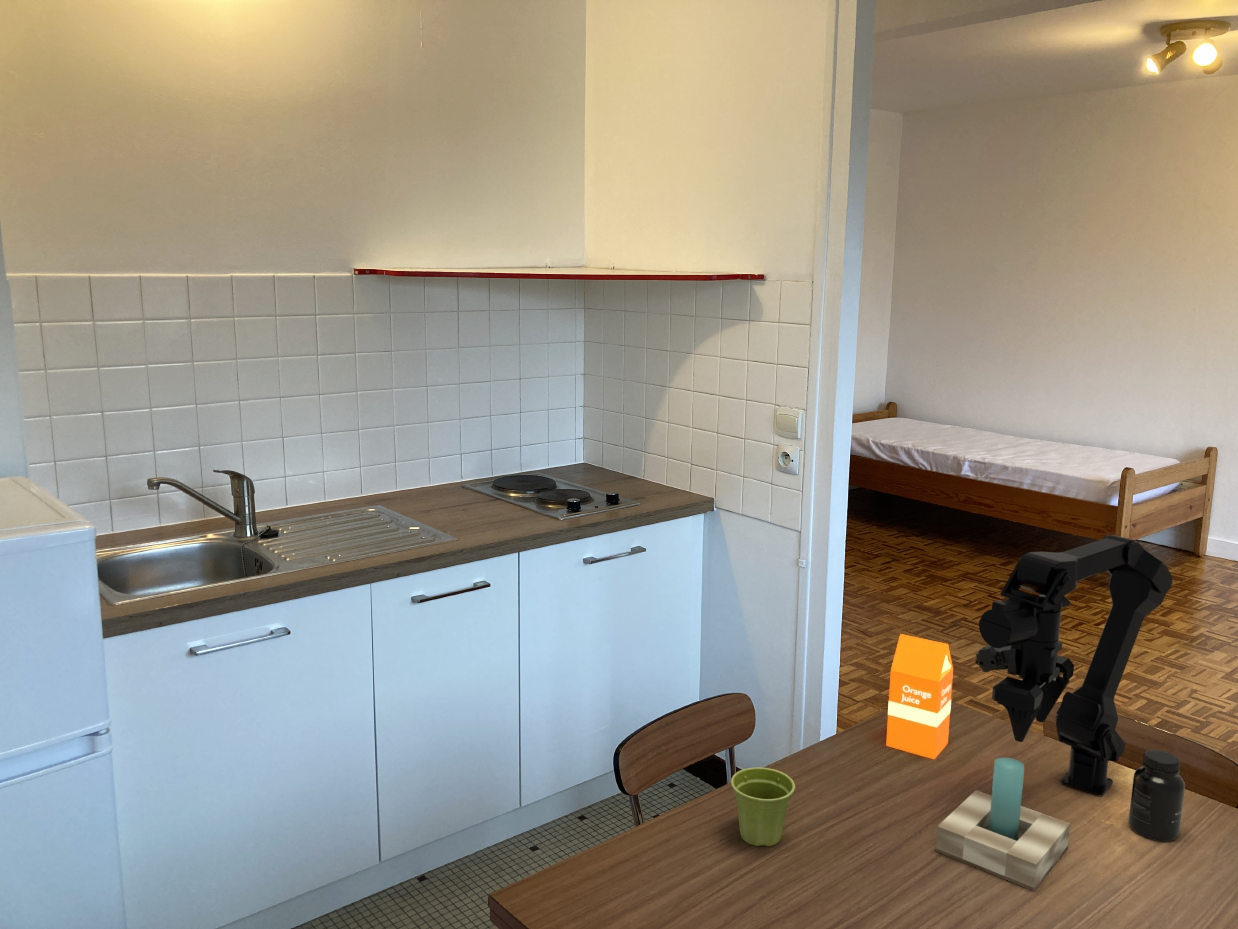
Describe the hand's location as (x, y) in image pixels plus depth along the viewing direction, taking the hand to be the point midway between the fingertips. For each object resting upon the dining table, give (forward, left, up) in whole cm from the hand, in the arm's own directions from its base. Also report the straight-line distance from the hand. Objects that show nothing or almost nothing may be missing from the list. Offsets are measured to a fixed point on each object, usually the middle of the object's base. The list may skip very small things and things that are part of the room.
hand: (1029, 731), depth 151 cm
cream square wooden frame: (+14, +2, -13) cm, 19 cm away
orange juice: (-9, -22, -13) cm, 27 cm away
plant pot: (+35, -26, -13) cm, 46 cm away
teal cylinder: (+14, +2, -12) cm, 19 cm away
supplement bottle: (-7, +17, -13) cm, 23 cm away
